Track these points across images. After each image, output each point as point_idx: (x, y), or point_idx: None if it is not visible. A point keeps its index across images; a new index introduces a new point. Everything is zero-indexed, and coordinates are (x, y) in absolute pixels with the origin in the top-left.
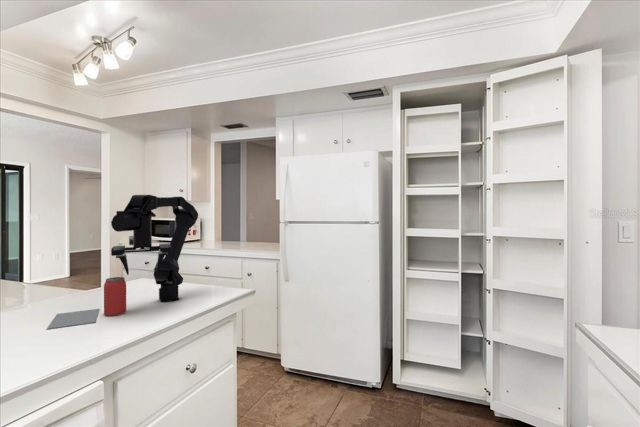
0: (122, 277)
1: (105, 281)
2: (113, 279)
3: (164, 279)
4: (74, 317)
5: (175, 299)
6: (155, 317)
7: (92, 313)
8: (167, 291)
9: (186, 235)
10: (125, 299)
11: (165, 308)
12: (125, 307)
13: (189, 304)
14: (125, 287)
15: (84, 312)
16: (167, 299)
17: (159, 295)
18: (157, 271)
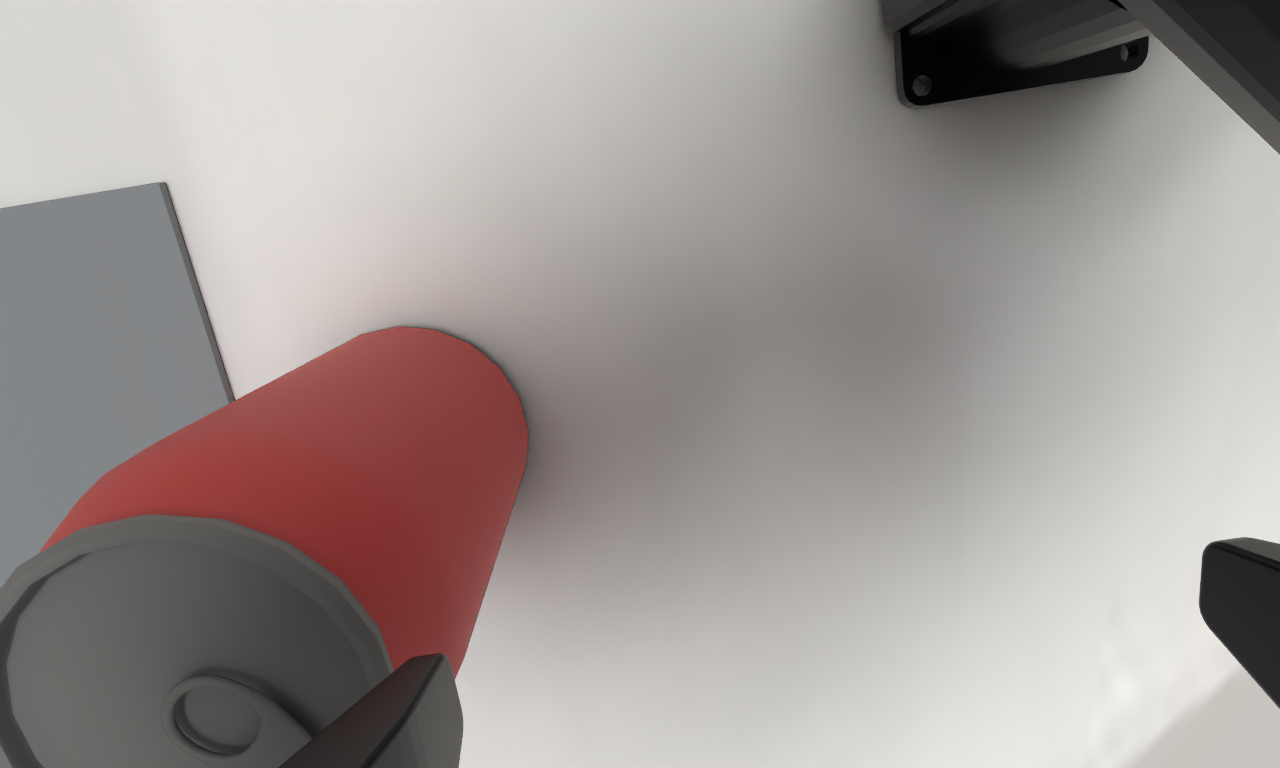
0: (316, 599)
1: (12, 696)
2: (147, 670)
3: (1199, 76)
4: (28, 483)
5: (1093, 77)
6: (842, 694)
7: (164, 391)
8: (1067, 47)
9: None
10: (506, 518)
11: (939, 416)
12: (521, 475)
13: (1211, 337)
14: (473, 615)
15: (42, 311)
16: (992, 69)
17: (911, 13)
18: (1241, 641)
